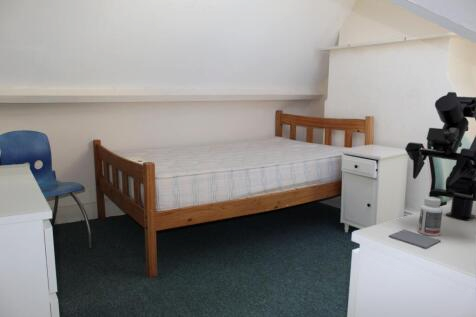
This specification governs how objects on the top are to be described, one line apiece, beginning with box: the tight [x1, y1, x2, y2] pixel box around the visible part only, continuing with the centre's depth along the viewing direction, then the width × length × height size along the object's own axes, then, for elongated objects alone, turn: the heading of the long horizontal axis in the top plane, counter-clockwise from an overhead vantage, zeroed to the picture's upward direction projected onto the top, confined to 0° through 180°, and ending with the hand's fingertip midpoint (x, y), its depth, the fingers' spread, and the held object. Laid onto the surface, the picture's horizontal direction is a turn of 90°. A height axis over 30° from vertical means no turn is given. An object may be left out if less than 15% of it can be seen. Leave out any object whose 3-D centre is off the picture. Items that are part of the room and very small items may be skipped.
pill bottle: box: [417, 196, 443, 237], centre depth 112 cm, size 5×5×10 cm
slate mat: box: [388, 228, 442, 250], centre depth 108 cm, size 8×10×1 cm
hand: (430, 181), depth 110 cm, fingers open, 9 cm apart
